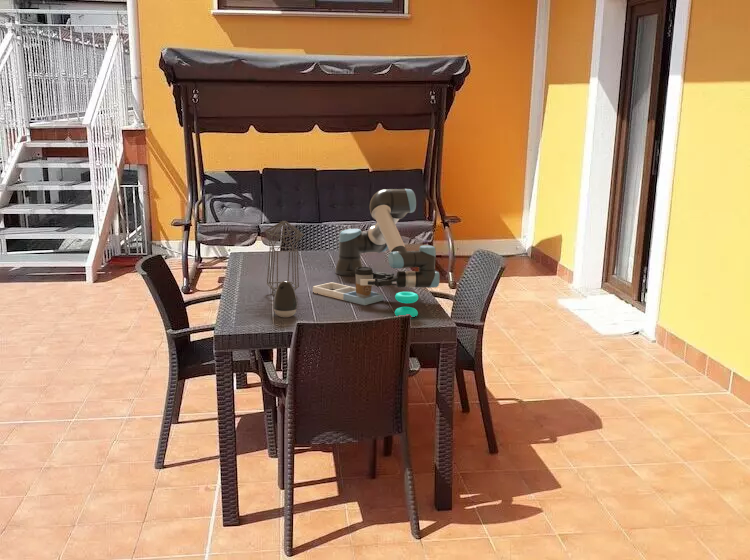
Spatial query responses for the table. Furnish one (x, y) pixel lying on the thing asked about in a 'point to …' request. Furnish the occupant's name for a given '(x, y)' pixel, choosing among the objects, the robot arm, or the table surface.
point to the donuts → (406, 298)
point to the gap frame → (346, 293)
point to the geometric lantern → (277, 226)
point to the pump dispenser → (285, 300)
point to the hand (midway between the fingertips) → (359, 278)
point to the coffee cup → (363, 273)
